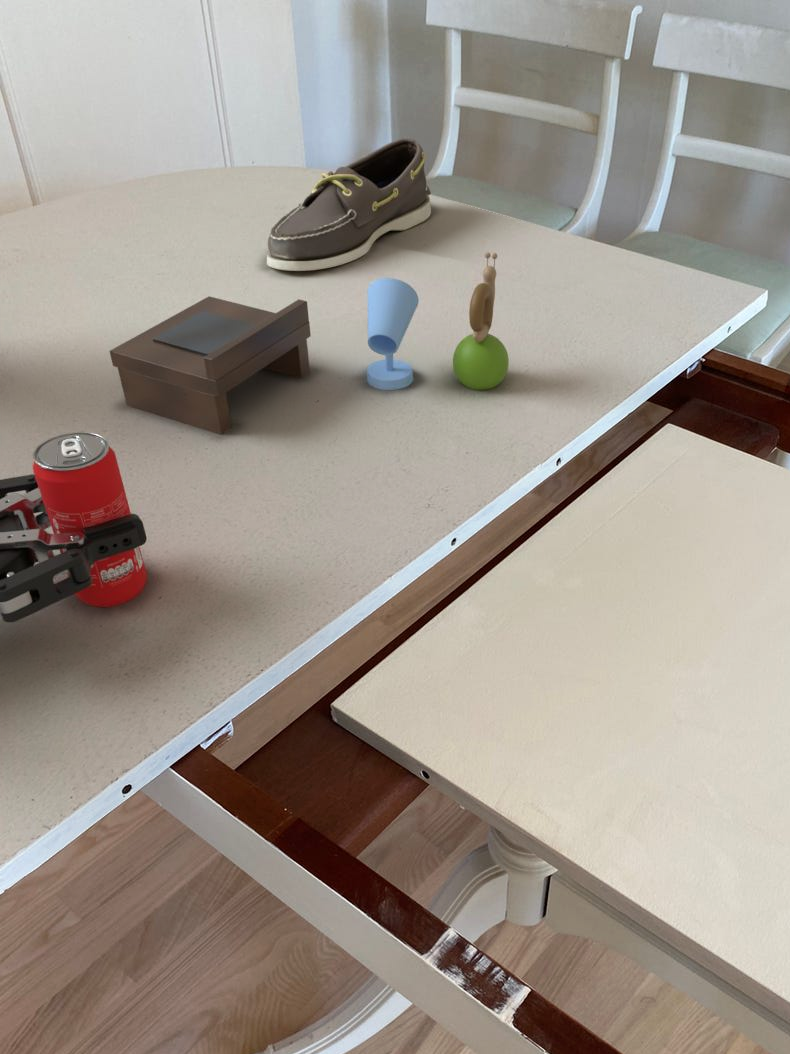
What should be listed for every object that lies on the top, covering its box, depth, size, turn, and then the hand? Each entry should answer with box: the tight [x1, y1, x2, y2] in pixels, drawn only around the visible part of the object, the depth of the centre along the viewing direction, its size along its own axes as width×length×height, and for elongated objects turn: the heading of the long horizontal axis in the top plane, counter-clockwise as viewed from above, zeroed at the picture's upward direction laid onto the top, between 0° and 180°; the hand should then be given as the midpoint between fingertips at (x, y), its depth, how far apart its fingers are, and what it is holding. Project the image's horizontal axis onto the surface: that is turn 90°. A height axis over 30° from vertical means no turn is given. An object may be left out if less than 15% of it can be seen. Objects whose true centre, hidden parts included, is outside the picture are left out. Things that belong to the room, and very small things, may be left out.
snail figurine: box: [452, 251, 510, 391], centre depth 92 cm, size 5×6×12 cm
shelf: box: [109, 296, 311, 436], centre depth 91 cm, size 12×14×8 cm
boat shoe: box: [266, 137, 432, 272], centre depth 122 cm, size 11×31×9 cm, turn 149°
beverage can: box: [32, 431, 148, 608], centre depth 67 cm, size 5×5×12 cm
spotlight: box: [366, 277, 419, 391], centre depth 93 cm, size 5×10×7 cm
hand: (128, 507), depth 68 cm, fingers closed on beverage can, 5 cm apart
